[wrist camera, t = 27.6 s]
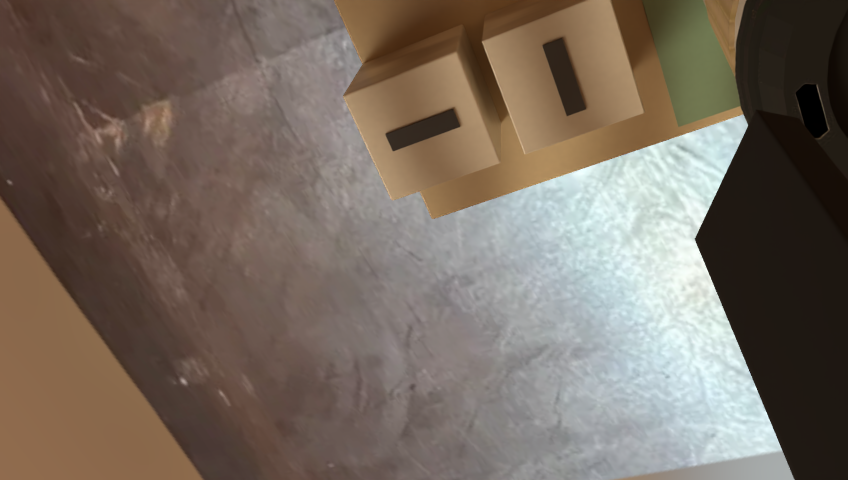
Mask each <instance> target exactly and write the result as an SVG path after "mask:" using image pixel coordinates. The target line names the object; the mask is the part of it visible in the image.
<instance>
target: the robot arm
mask: <svg viewBox="0 0 848 480" xmlns="http://www.w3.org/2000/svg"><path fill="white" fill-rule="evenodd" d="M695 241H696V243H697V246H698V248H699V251H700V253H701V255H702V258H703V260H704V263H705V265H706V267H707V270H708V272H709V275H710V277H711V279H712V282H713V284H714V287H715V289H716V292H717V294H718V296H719V299H720V301H721V304H722V306H723V308H724V311H725V313H726V316H727V318H728V320H729V323H730V325H731V328H732V330H733V332H734V335H735V337H736V340H737V342H738V345H739V347H740V349H741V352H742V354H743V357H744V359H745V361H746V364H747V366H748V369H749V371H750V373H751V376H752V378H753V381H754V383H755V385H756V388H757V390H758V393H759V395H760V398H761V400H762V402H763V405H764V407H765V410H766V412H767V414H768V417H769V419H770V422H771V424H772V426H773V429H774V431H775V434H776V436H777V438H778V441H779V443H780V446H781V448H782V451H783V453H784V455H785V458H786V460H787V463H788V465H789V467H790V470H791V472H792V475H793V477H794V479H795V480H848V180H847V179H846V178H845V176H844V175H843V174H842V172H841V171H840V170H839V169H838V167H837V166H836V165H835V164H834V162H833V161H832V160H831V158H830V157H829V156H828V155H827V153H826V152H825V151H824V150H823V148H822V147H821V146H820V145H819V143H818V142H817V141H816V139H815V138H814V137H813V136H812V134H811V133H810V132H809V131H808V129H807V128H806V127H805V125H804V124H803V123H802V122H801V120H800V119H799V118H796V117H791V116H786V115H781V114H776V113H771V112H766V111H761V110H756V111H755V113H754V115H753V117H752V119H751V121H750V123H749V125H748V128H747V130H746V132H745V134H744V136H743V138H742V140H741V142H740V144H739V147H738V149H737V151H736V153H735V155H734V157H733V159H732V161H731V164H730V166H729V168H728V170H727V172H726V174H725V176H724V178H723V180H722V183H721V185H720V187H719V189H718V191H717V193H716V195H715V197H714V200H713V202H712V204H711V206H710V208H709V210H708V212H707V214H706V216H705V219H704V221H703V223H702V225H701V227H700V229H699V231H698V233H697V236H696V238H695Z"/></svg>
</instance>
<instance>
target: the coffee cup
mask: <svg viewBox="0 0 848 480" xmlns="http://www.w3.org/2000/svg"><path fill="white" fill-rule="evenodd" d="M703 2H704V4H705V6H706V9H707V14H708V19H709V22H710V24H711V26H712V29H713V31H714V33H715V35H716V37H717V40H718V42H719V44H720V46H721V48H722V50H723V52H724V55H725V57H726V59H727V61H728V63H729V65H730V67H731V70H732V72H733V74H734V76H735V80H736V85H737V90H738V96H739V101H740V106H741V110H742V112H743V114H744V116H745V119H746V121H747V123H748V125H749V123H750V121H751V119H752V117H753V115H754V113H755V111H756V110H761V111H766V112H771V113H776V114H781V115H786V116H791V117H796V118H799V119H800V120H801V122H802V123H803V124H804V125H805V127H806V128H807V129H808V131H809V132H810V133H811V134H812V136H813V137H814V138H815V139H816V141H817V142H818V143H819V145H820V146H821V147H822V148H823V150H824V151H825V152H826V153H827V155H828V156H829V157H830V158H831V160H832V161H833V162H834V164H835V165H836V166H837V167H838V169H839V170H840V171H841V172H842V174H843V175H844V176H845V178H846V179H847V180H848V0H703Z"/></svg>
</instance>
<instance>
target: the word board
mask: <svg viewBox="0 0 848 480" xmlns="http://www.w3.org/2000/svg"><path fill="white" fill-rule="evenodd" d="M334 2H335V4H336V6H337V9H338V11H339V13H340V15H341V18H342V20H343V22H344V24H345V26H346V29H347V31H348V33H349V35H350V38H351V40H352V42H353V44H354V46H355V49H356V51H357V53H358V55H359V58H360V60H361V62H362V64H363V65H362V66H361V68H360V69H359V71H358V73H357V74H356V76H355V77H354V79H353V81H352V82H351V84H350V86H349V87H348V89H347V90H346V92H345V94H344V95H343V98H344V100H345V102H346V104H347V106H348V108H349V110H350V113H351V115H352V117H353V119H354V121H355V123H356V125H357V128H358V130H359V132H360V134H361V136H362V138H363V140H364V142H365V145H366V147H367V149H368V151H369V153H370V155H371V157H372V160H373V162H374V164H375V166H376V168H377V170H378V172H379V175H380V177H381V179H382V181H383V183H384V185H385V187H386V189H387V192H388V194H389V196H390V198H391V200H396V199H399V198H402V197H404V196H407V195H410V194H413V193H416V192H419V191H420V193H421V196H422V198H423V200H424V202H425V204H426V207H427V209H428V211H429V213H430V216H431V218H432V219H435V218H438V217H441V216H444V215H447V214H449V213H452V212H455V211H458V210H461V209H464V208H467V207H470V206H473V205H476V204H479V203H482V202H485V201H488V200H491V199H494V198H497V197H500V196H503V195H506V194H509V193H512V192H515V191H518V190H521V189H523V188H526V187H529V186H532V185H535V184H538V183H541V182H544V181H547V180H550V179H553V178H556V177H559V176H562V175H565V174H568V173H571V172H574V171H577V170H580V169H583V168H586V167H589V166H592V165H595V164H597V163H600V162H603V161H606V160H609V159H612V158H615V157H618V156H621V155H624V154H627V153H630V152H633V151H636V150H639V149H642V148H645V147H648V146H651V145H654V144H657V143H660V142H663V141H666V140H669V139H671V138H674V137H677V136H680V135H683V134H686V133H689V132H692V131H695V130H698V129H701V128H704V127H707V126H710V125H713V124H716V123H719V122H722V121H725V120H728V119H731V118H734V117H737V116H740V115H743V112H742V110H741V106H740V101H739V96H738V90H737V85H736V80H735V76H734V74H733V72H732V70H731V67H730V65H729V63H728V61H727V59H726V57H725V55H724V52H723V50H722V48H721V46H720V44H719V42H718V40H717V37H716V35H715V33H714V31H713V29H712V26H711V24H710V22H709V19H708V14H707V9H706V6H705V4H704V2H703V0H334Z"/></svg>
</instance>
